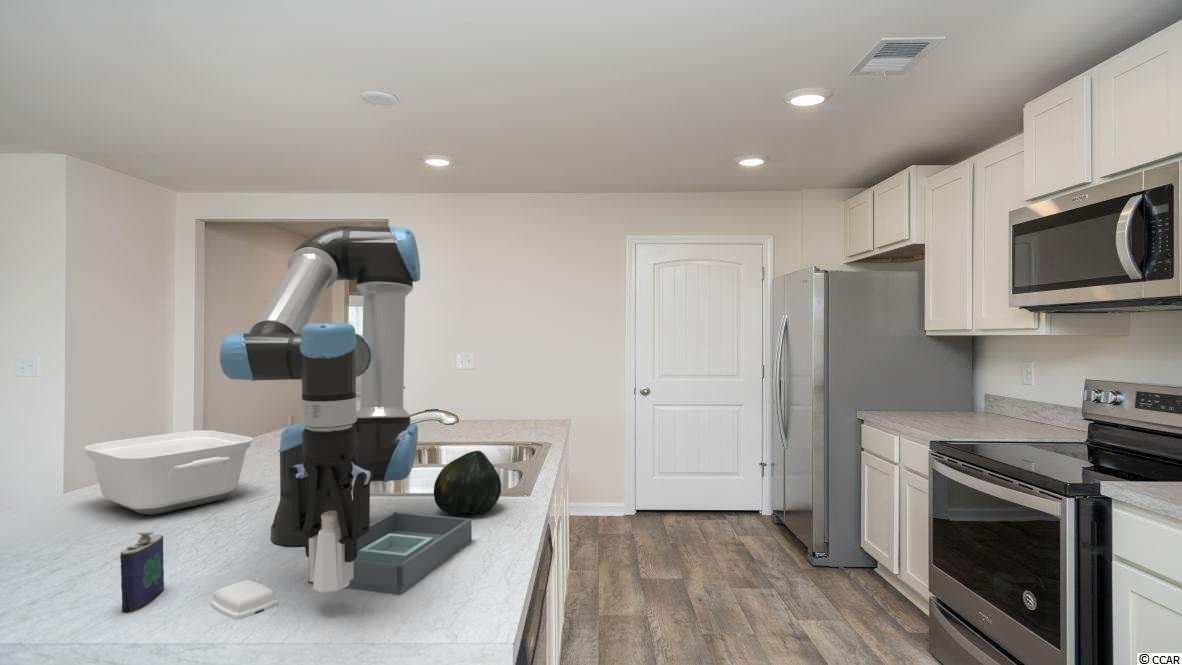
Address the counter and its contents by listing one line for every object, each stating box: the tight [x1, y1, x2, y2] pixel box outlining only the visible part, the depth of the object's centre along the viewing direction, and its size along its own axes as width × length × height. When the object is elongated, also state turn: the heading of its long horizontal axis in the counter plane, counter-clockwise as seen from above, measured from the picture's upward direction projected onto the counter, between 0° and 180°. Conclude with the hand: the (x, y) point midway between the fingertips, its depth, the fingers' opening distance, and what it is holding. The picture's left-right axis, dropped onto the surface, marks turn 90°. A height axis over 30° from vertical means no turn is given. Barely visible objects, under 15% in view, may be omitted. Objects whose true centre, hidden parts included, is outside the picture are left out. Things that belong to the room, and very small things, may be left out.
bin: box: [308, 511, 473, 595], centre depth 115 cm, size 17×25×4 cm
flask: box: [119, 531, 165, 614], centre depth 98 cm, size 9×3×11 cm, turn 8°
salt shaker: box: [312, 511, 350, 594], centre depth 94 cm, size 5×5×11 cm
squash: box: [433, 450, 502, 515], centre depth 144 cm, size 14×15×15 cm
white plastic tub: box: [83, 429, 254, 516], centre depth 151 cm, size 34×29×15 cm
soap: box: [210, 579, 279, 620], centre depth 96 cm, size 9×7×3 cm
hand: (331, 579), depth 94 cm, fingers closed on salt shaker, 4 cm apart
